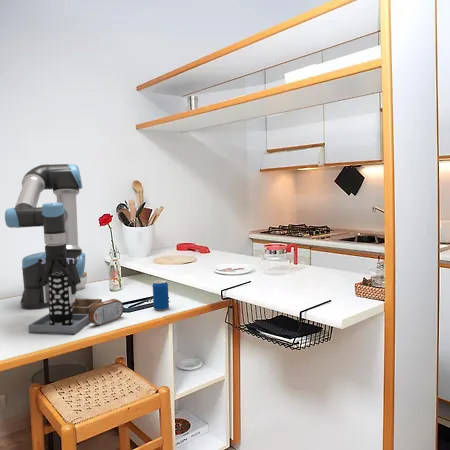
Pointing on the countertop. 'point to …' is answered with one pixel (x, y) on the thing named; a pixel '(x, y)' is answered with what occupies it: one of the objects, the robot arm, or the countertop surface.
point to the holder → (84, 305)
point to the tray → (45, 328)
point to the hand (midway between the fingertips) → (59, 302)
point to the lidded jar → (82, 282)
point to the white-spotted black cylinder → (59, 300)
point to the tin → (106, 311)
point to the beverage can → (160, 295)
